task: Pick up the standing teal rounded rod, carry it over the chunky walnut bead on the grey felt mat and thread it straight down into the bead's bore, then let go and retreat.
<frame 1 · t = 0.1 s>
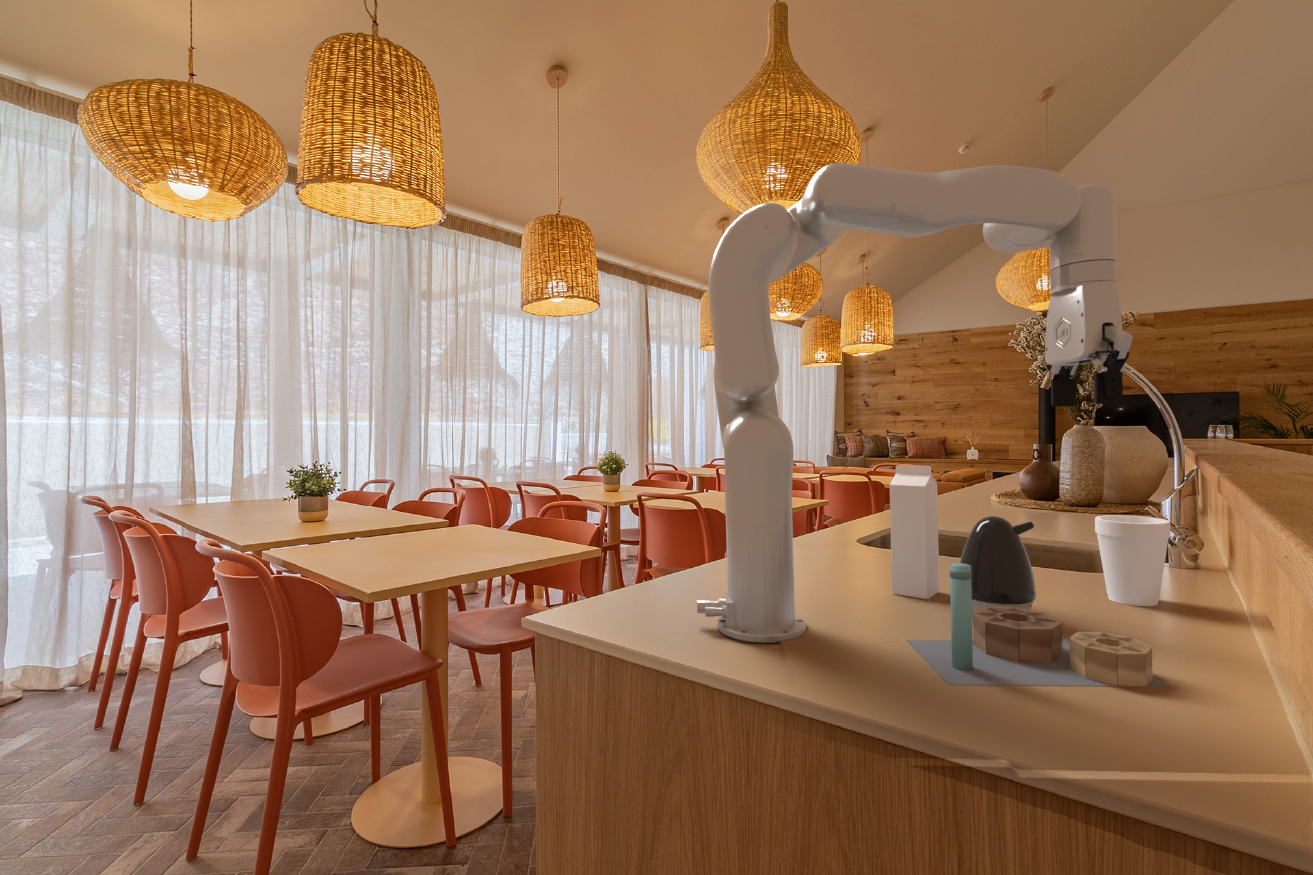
hand: (1084, 405, 84), 31 cm above the counter, fingers open, 9 cm apart
pump dispenser: (996, 619, 90), on the counter
milk: (915, 594, 105), on the counter
foam cup: (1132, 601, 97), on the counter
bead: (1016, 648, 77), resting on mat
mat: (1024, 664, 73), on the counter
oak bead: (1110, 672, 69), resting on mat
teal rounded rod: (962, 666, 72), resting on mat
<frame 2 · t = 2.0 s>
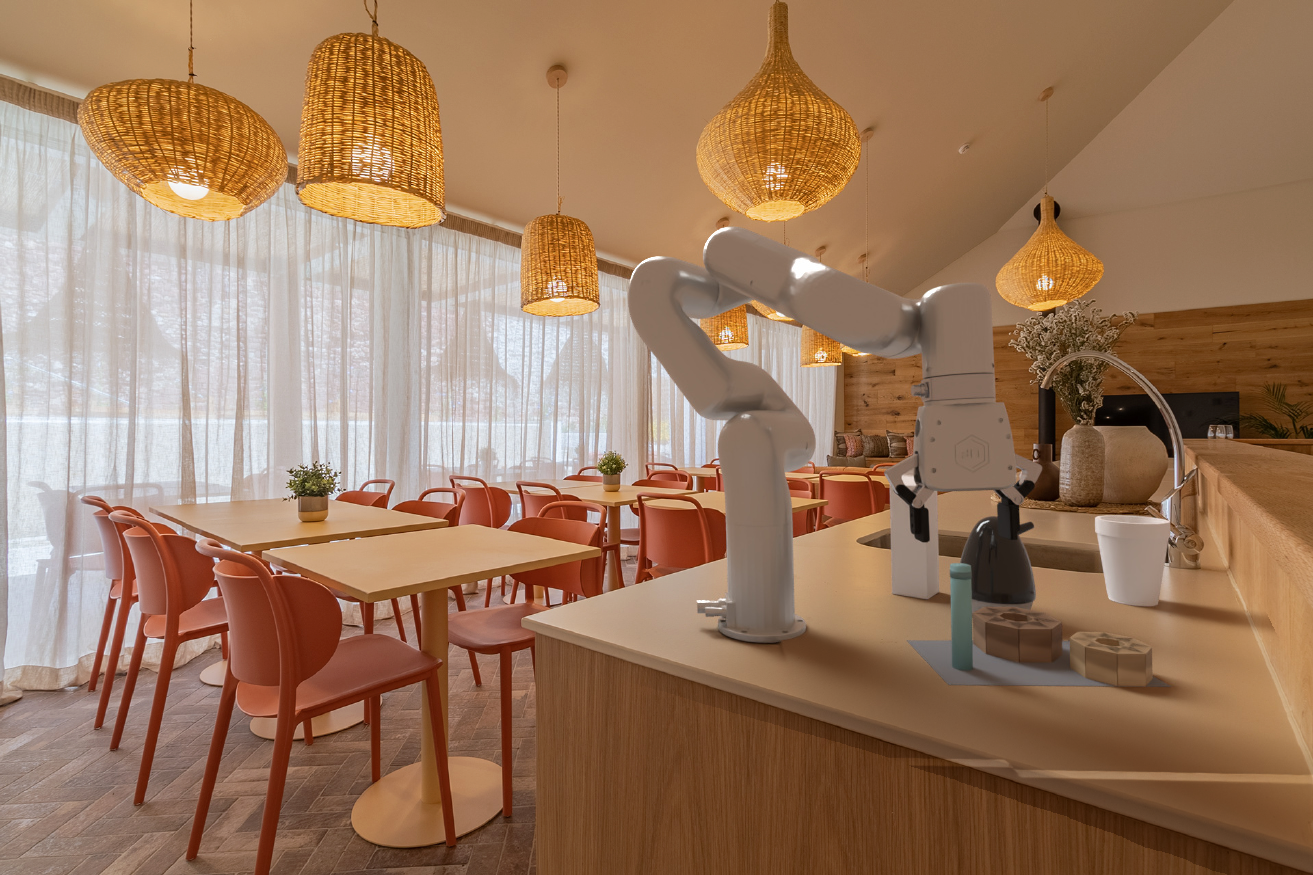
hand: (964, 539, 71), 16 cm above the counter, fingers open, 9 cm apart
nothing on the counter moved.
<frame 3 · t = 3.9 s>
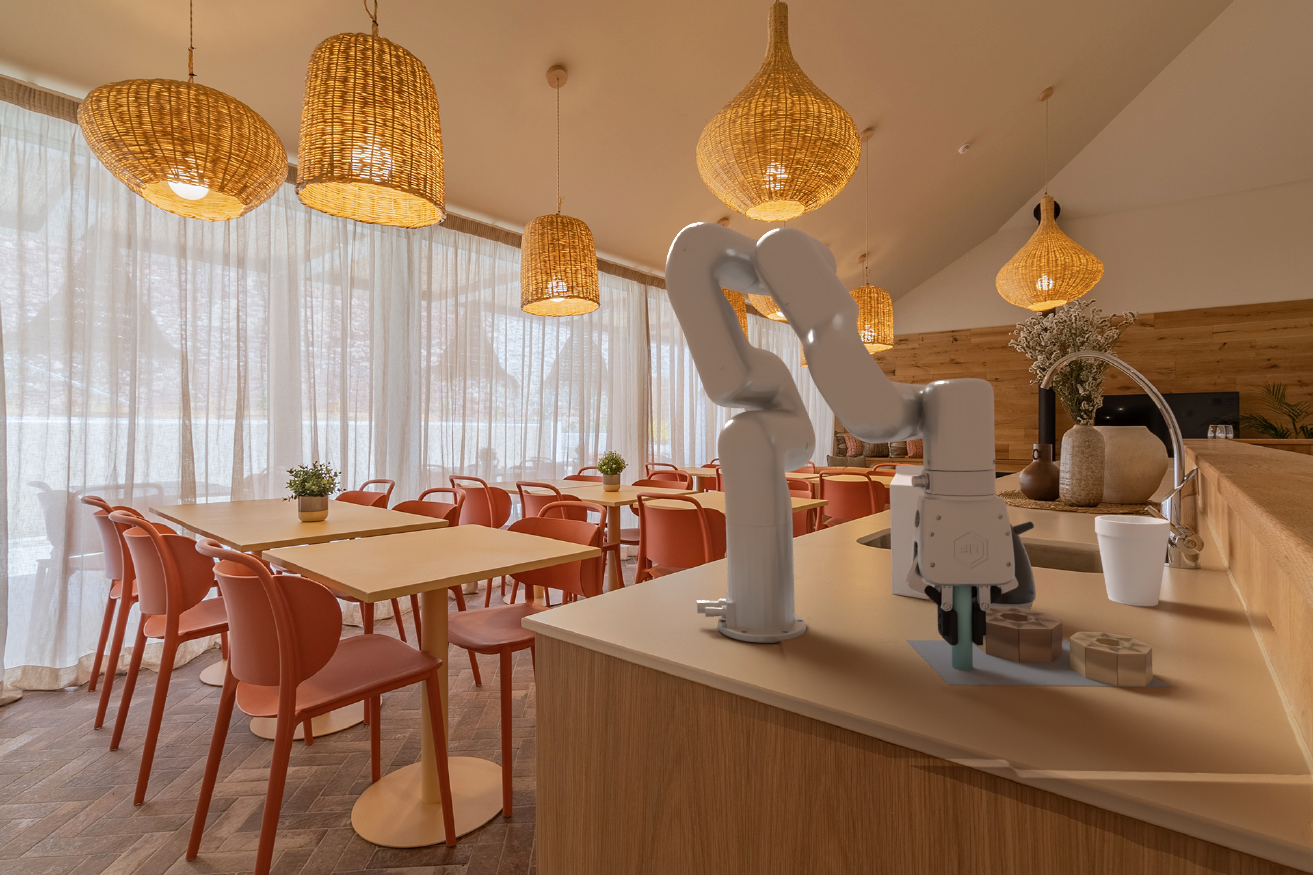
hand: (961, 640, 71), 4 cm above the counter, fingers closed on teal rounded rod, 2 cm apart
teal rounded rod: (962, 666, 72), resting on mat, touching gripper
everything else where it was.
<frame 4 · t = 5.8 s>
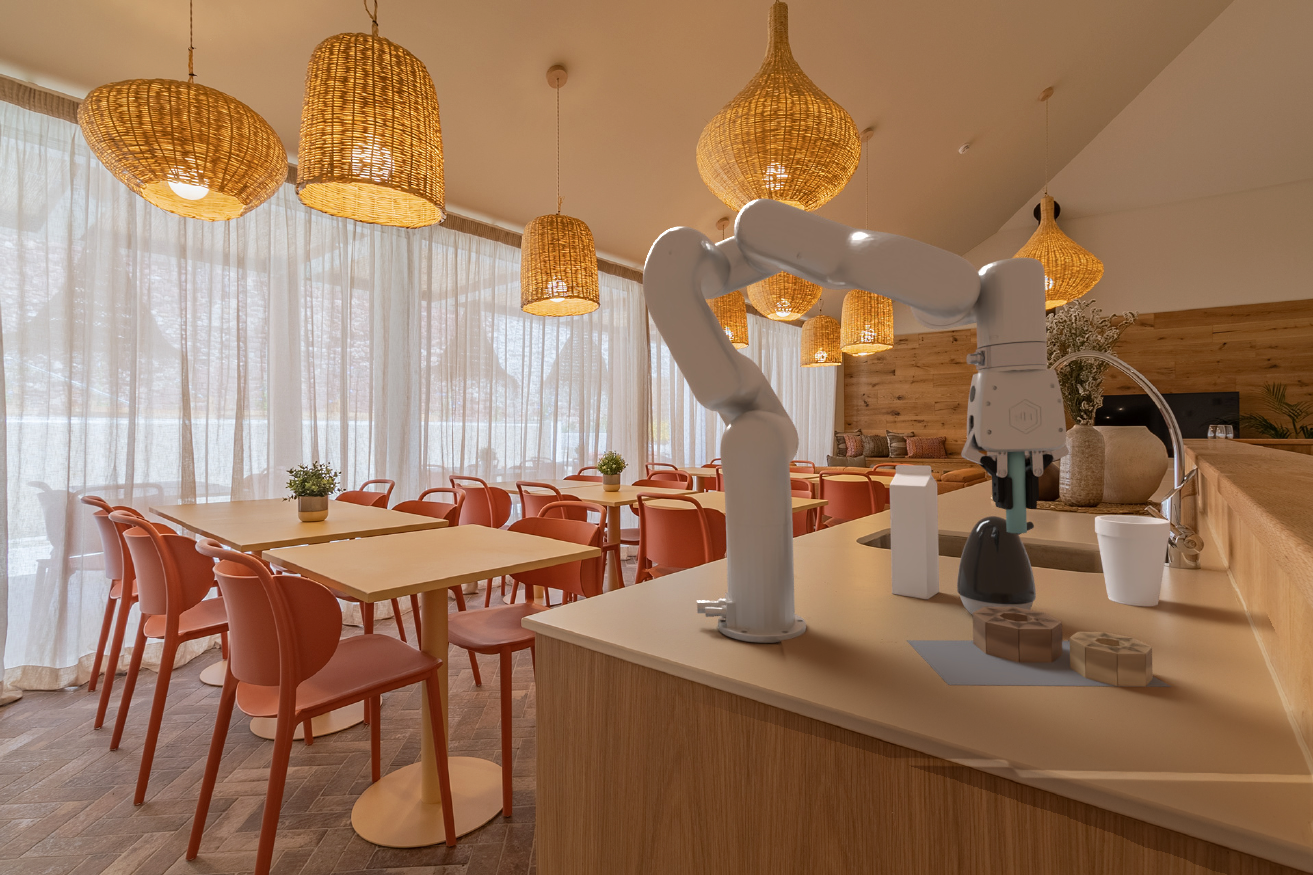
hand: (1015, 506, 76), 18 cm above the counter, fingers closed on teal rounded rod
teal rounded rod: (1016, 531, 76), point 15 cm above the counter, touching gripper
everything else where it was.
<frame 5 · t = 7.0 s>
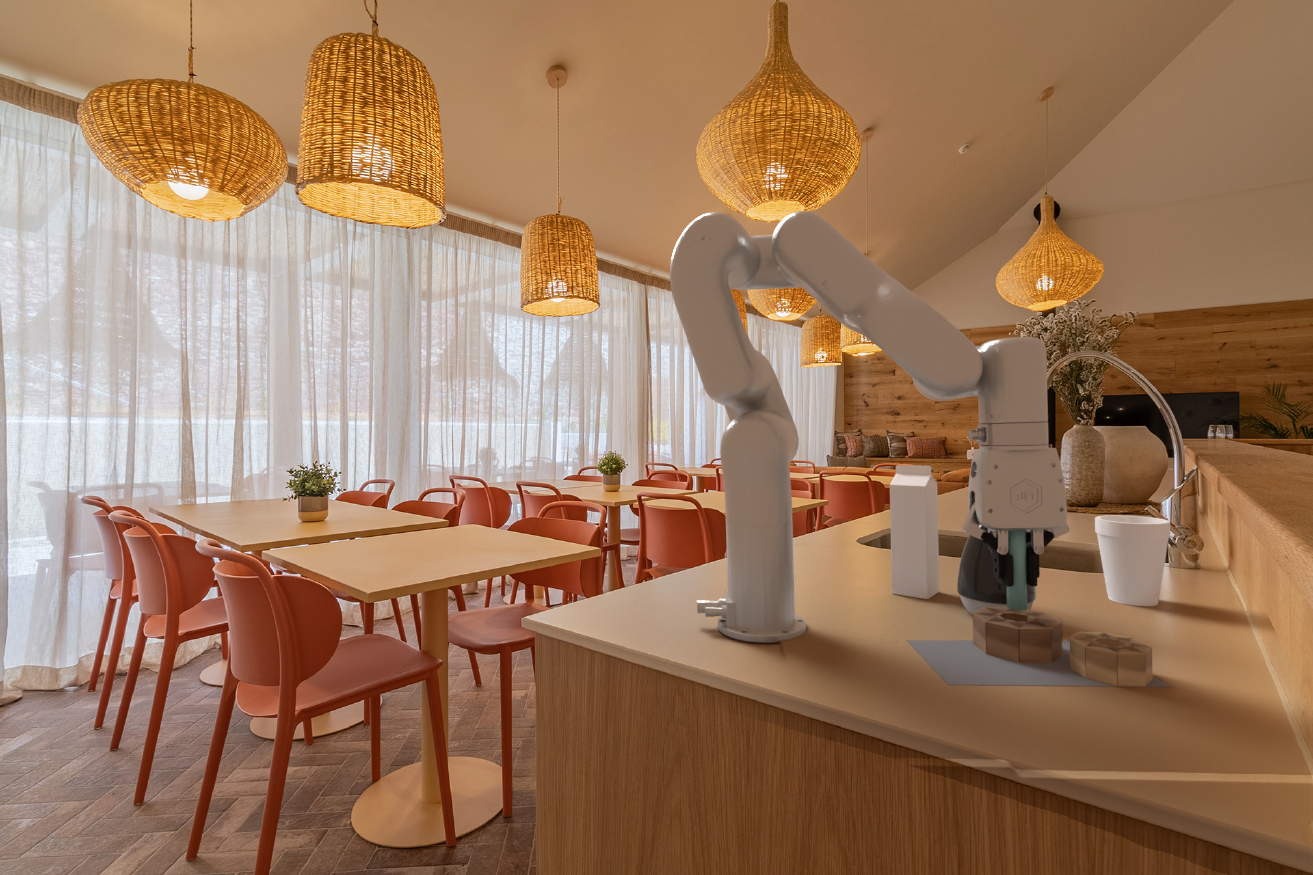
hand: (1016, 582, 77), 9 cm above the counter, fingers closed on teal rounded rod
teal rounded rod: (1017, 607, 77), point 6 cm above the counter, touching gripper
everything else where it was.
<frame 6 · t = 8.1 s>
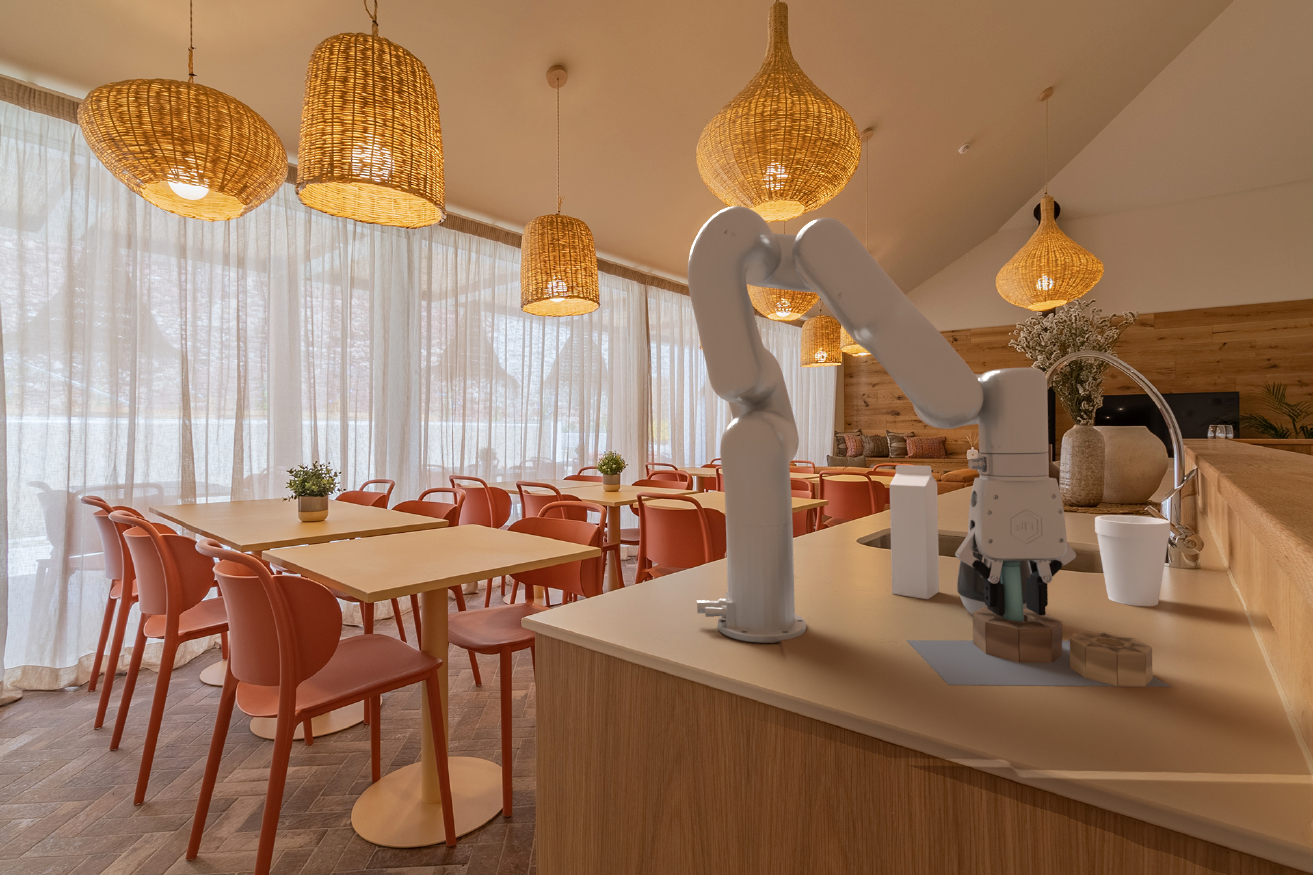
hand: (1015, 610, 77), 5 cm above the counter, fingers open, 4 cm apart
teal rounded rod: (1016, 648, 77), point 1 cm above the counter, touching mat
everything else where it was.
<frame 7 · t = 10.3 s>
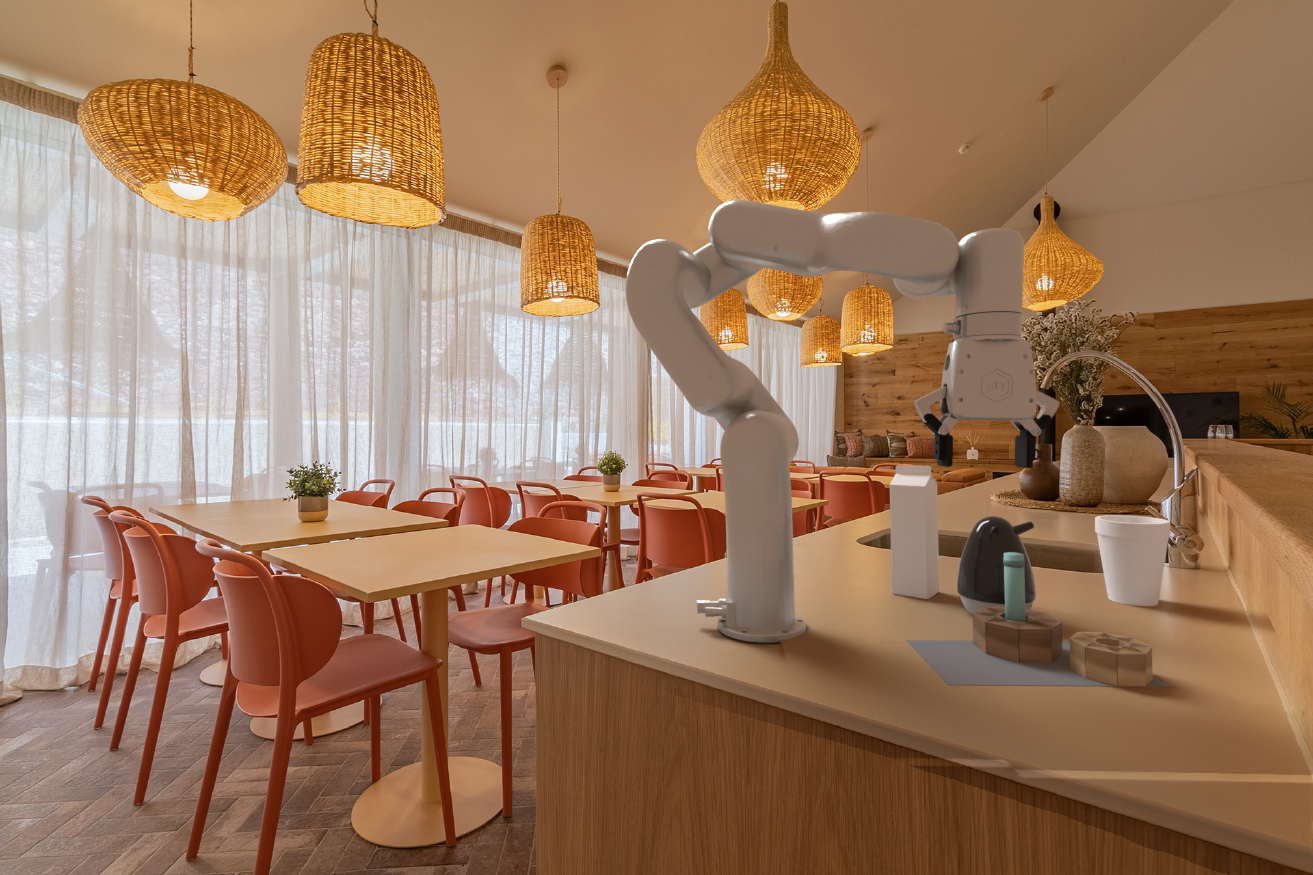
hand: (983, 466, 78), 24 cm above the counter, fingers open, 9 cm apart
nothing on the counter moved.
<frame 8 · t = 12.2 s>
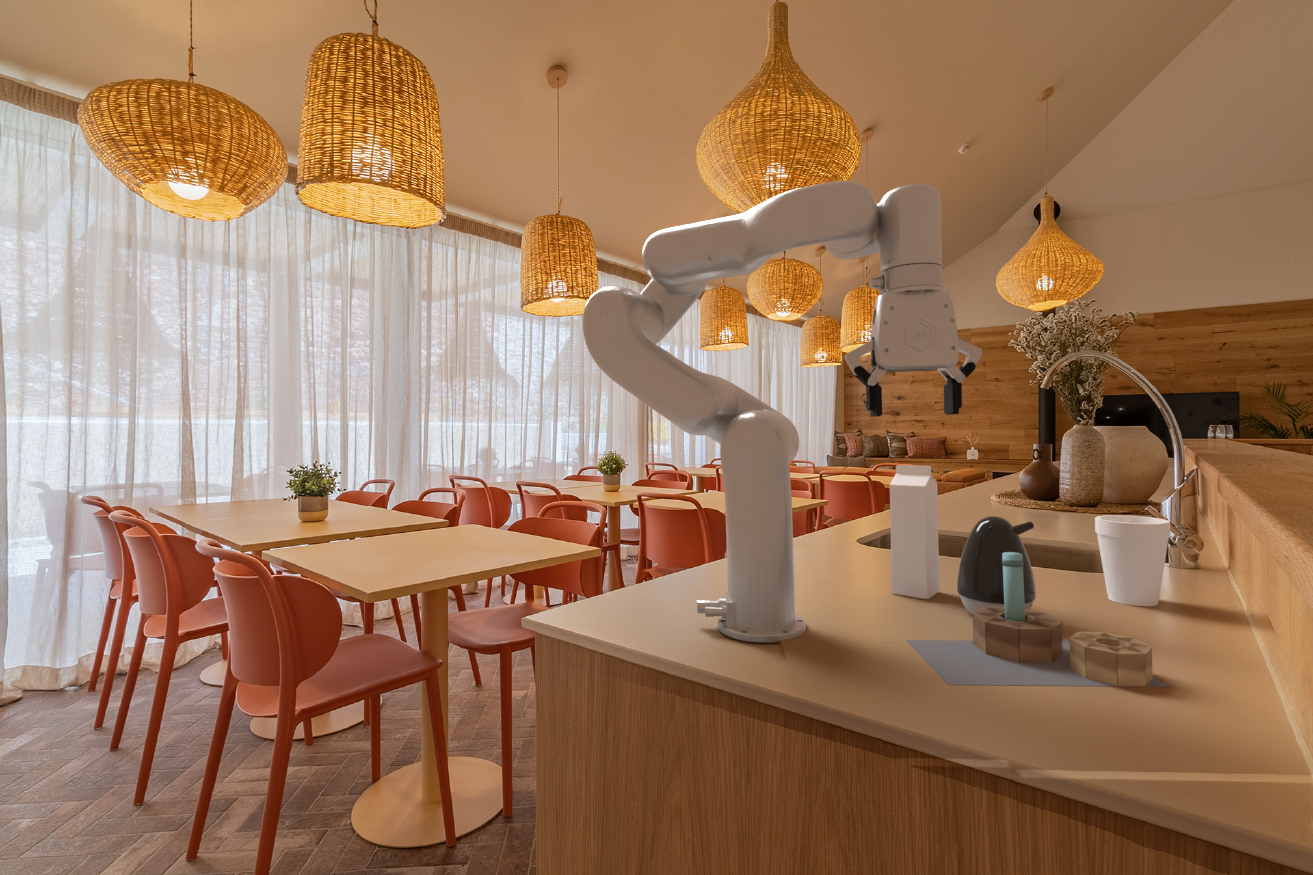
hand: (913, 415, 80), 30 cm above the counter, fingers open, 9 cm apart
nothing on the counter moved.
at the end: teal rounded rod 0.1 cm off-centre on the bead, point 0.0 cm above the bead's base; teal rounded rod tilted 1°; the gripper is holding nothing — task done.
